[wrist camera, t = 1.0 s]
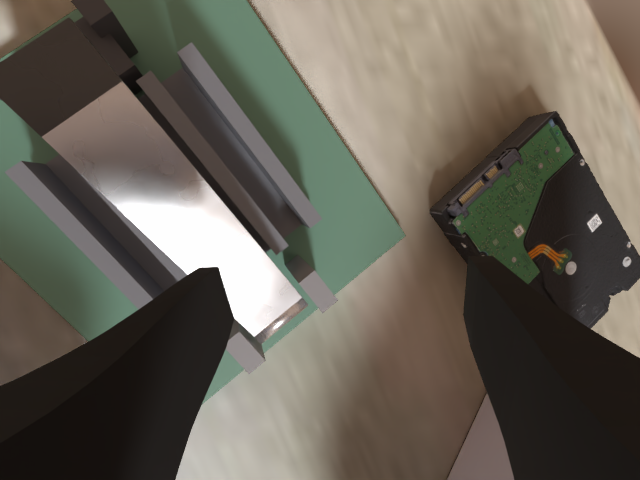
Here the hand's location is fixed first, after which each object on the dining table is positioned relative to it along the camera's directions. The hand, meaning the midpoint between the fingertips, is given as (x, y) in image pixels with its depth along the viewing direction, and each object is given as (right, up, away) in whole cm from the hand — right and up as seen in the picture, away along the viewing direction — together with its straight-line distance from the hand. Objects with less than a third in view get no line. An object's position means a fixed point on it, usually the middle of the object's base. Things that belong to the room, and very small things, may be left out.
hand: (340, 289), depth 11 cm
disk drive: (+15, +1, +17) cm, 23 cm away
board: (-8, +4, +10) cm, 14 cm away
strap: (-6, +2, +4) cm, 8 cm away
